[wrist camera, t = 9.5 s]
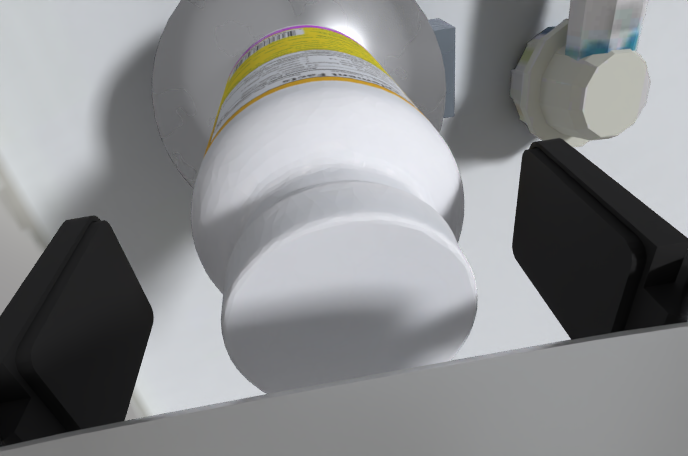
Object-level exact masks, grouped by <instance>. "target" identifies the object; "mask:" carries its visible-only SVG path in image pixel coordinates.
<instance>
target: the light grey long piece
mask: <svg viewBox="0 0 688 456" xmlns="http://www.w3.org/2000/svg"><path fill="white" fill-rule="evenodd" d="M648 1H649V0H571V1H570V11H569V19H565V20H563V21H562V22H561V23H560V24H559V25H557V26H556V27H548V28H546V29H545V30H544V31H542V32H541V33H540V34H539V35H537V36H536V37H535V38H533V39H532V40H531V41H529V42H528V43H527V47H526V49H525V51H524V53H523V55H522V57H521V59H520V61H519V63H518V65H517V67H516V69H513V70H512V75H511V88H510V97H511V98H513V101H514V103H515V106H516V108H517V111H518V114H519V116H520V117H519V120H521V121H523V122H524V123H526V124H527V126H528V128H529V131H530V133H531V134H533V135H534V136H536V137H537V138H539V139H540V140H542V141H543V140H549V139H555V138H561V139H563V140H564V141H565V142H567V143H568V144H569V145H570V146H572V147H581V146H583V145H585V144H586V143H587V142H589V141H590V140H599V139H609V138H612V137H615V136H617V135H619V134H620V133H622V132H623V131H624V130H626V129H627V128H628V127H630V126H631V125H633V124H634V123H635V121H636V119H637V118H638V116H639V115H640V113H641V111H642V110H643V108H644V107H645V105H646V102H647V97H648V92H649V87H650V82H651V81H650V77H649V73H648V69H647V65H646V62H645V61H644V59H643V58H642V56H641V55H640V54H638V53H637V52H636V51H637V47H638V43H639V39H640V35H641V30H642V26H643V22H644V18H645V14H646V9H647V5H648Z"/></svg>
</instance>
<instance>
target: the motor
mask: <svg viewBox="0 0 688 456" xmlns="http://www.w3.org/2000/svg"><path fill="white" fill-rule="evenodd" d="M303 24H310V25H319V26H324V27H328V28H332V29H335V30H337V31H340V32H342V33H344V34H346V35H348V36H350V37H351V38H353V39H354V40H355V41H357V42H358V43H359V44H361V45H362V46H363V47H364V48H365V49H366V50H367V51H368V52H369V53H370V54H371V55H372V56H373V57H374V58H375V60H376V61H377V62H378V63H379V64H380V65H381V66H382V68H383V69H384V70H385V71H386V72H387V73H388V75H389V76H390V77H391V78H392V79H393V80H394V82H395V83H396V84H397V85H398V86H399V87H400V89H401V90H402V91H403V92H404V93H405V94H406V96H407V97H408V98H409V99H410V100H411V101H412V102H413V104H414V105H415V106H416V107H417V108H418V109H419V110H420V111H421V113H422V114H423V115H424V116H425V117H426V118H427V119H428V120H429V121H430V123H431V124H432V125H433V126H434V128H435V129H436V130H437V131H438V132H440V129H441V126H442V121H443V118H447V117H453V116H454V104H455V27H454V26H452V25H450V24H448V23H446V22H445V21H443V20H441V19H439V18H438V19H431V20H428V19H427V17H426V16H425V14H424V13H423V11H422V10H421V8H420V7H419V6H418V4H417V3H416V1H415V0H181V1H180V3H179V4H178V6H177V7H176V9H175V10H174V12H173V14H172V15H171V17H170V18H169V20H168V22H167V25H166V27H165V29H164V31H163V33H162V36H161V38H160V41H159V45H158V48H157V52H156V55H155V60H154V67H153V75H152V100H153V107H154V114H155V119H156V123H157V126H158V129H159V133H160V136H161V139H162V141H163V143H164V145H165V148H166V150H167V152H168V154H169V156H170V158H171V159H172V161H173V163H174V164H175V166H176V168H177V169H178V171H179V172H180V173H181V174H182V176H183V177H184V178H185V179H186V181H187V182H188V183H189V184H190V185H191V186H192V187H193V188H194V187H195V183H196V179H197V176H198V173H199V170H200V167H201V164H202V160H203V157H204V154H205V151H206V148H207V145H208V142H209V139H210V136H211V132H212V129H213V126H214V122H215V119H216V116H217V113H218V109H219V106H220V103H221V100H222V97H223V93H224V89H225V86H226V83H227V81H228V78H229V75H230V73H231V71H232V69H233V67H234V65H235V64H236V62H237V61H238V59H239V58H240V56H241V55H242V54H243V53H244V52H245V51H246V50H247V49H248V48H249V47H250V46H251V45H252V44H253V43H254V42H256V41H257V40H258V39H260V38H261V37H263V36H265V35H266V34H268V33H270V32H272V31H275V30H277V29H280V28H284V27H287V26H293V25H303Z"/></svg>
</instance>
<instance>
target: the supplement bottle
mask: <svg viewBox="0 0 688 456" xmlns="http://www.w3.org/2000/svg"><path fill="white" fill-rule="evenodd" d="M463 218H464V192H463V185H462V180H461V176H460V172H459V169H458V166H457V164H456V161H455V159H454V157H453V155H452V152H451V151H450V149H449V147H448V145H447V144H446V142H445V141H444V139H443V138H442V137H441V135H440V134H439V132H438V131H437V130H436V129H435V128H434V126H433V125H432V124H431V123H430V121H429V120H428V119H427V118H426V117H425V116H424V115H423V114H422V113H421V111H420V110H419V109H418V108H417V107H416V106H415V105H414V104H413V102H412V101H411V100H410V99H409V98H408V97H407V96H406V94H405V93H404V92H403V91H402V90H401V89H400V87H399V86H398V85H397V84H396V83H395V82H394V80H393V79H392V78H391V77H390V76H389V75H388V73H387V72H386V71H385V70H384V69H383V68H382V66H381V65H380V64H379V63H378V62H377V61H376V60H375V58H374V57H373V56H372V55H371V54H370V53H369V52H368V51H367V50H366V49H365V48H364V47H363V46H362V45H361V44H359V43H358V42H357V41H355V40H354V39H353V38H351V37H350V36H348V35H346V34H344V33H342V32H340V31H337V30H335V29H332V28H328V27H324V26H319V25H310V24H303V25H293V26H287V27H284V28H280V29H277V30H275V31H272V32H270V33H268V34H266V35H265V36H263V37H261V38H260V39H258V40H257V41H256V42H254V43H253V44H252V45H251V46H250V47H249V48H248V49H247V50H246V51H245V52H244V53H243V54H242V55H241V56H240V58H239V59H238V61H237V62H236V64H235V65H234V67H233V69H232V71H231V73H230V75H229V78H228V81H227V83H226V86H225V89H224V93H223V97H222V100H221V103H220V106H219V109H218V113H217V116H216V119H215V122H214V126H213V129H212V132H211V136H210V139H209V142H208V145H207V148H206V151H205V154H204V157H203V160H202V164H201V167H200V170H199V173H198V176H197V179H196V183H195V187H194V191H193V196H192V202H191V226H192V234H193V239H194V243H195V248H196V251H197V253H198V256H199V258H200V261H201V263H202V265H203V267H204V269H205V271H206V273H207V274H208V276H209V278H210V279H211V280H212V282H213V283H214V284H215V286H216V287H217V288H218V289H219V290H220V292H221V293H222V294H223V302H222V313H221V327H222V335H223V340H224V344H225V347H226V349H227V352H228V354H229V356H230V359H231V360H232V362H233V363H234V365H235V366H236V368H237V369H238V370H239V371H240V373H241V374H242V375H243V376H244V377H245V378H246V379H247V380H248V381H250V382H251V383H252V384H253V385H255V386H256V387H257V388H259V389H260V390H261V391H263V392H265V393H267V394H271V393H276V392H282V391H287V390H293V389H298V388H304V387H309V386H315V385H320V384H325V383H331V382H336V381H342V380H347V379H353V378H358V377H364V376H369V375H375V374H380V373H386V372H391V371H397V370H402V369H408V368H413V367H419V366H424V365H430V364H436V363H441V362H447V361H450V360H451V359H452V358H453V357H454V356H455V355H456V354H457V353H458V351H459V350H460V348H461V347H462V346H463V344H464V342H465V341H466V339H467V337H468V335H469V334H470V331H471V329H472V326H473V323H474V320H475V316H476V311H477V297H478V295H477V286H476V281H475V277H474V274H473V271H472V269H471V266H470V264H469V262H468V260H467V258H466V257H465V255H464V253H463V252H462V250H461V248H460V246H459V245H458V241H459V237H460V234H461V230H462V224H463Z"/></svg>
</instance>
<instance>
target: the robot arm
mask: <svg viewBox="0 0 688 456" xmlns="http://www.w3.org/2000/svg"><path fill="white" fill-rule="evenodd" d="M512 248H513V254H514V256H515V259H516V260H517V262H518V263H519V265H520V266H521V268H522V269H523V271H524V272H525V273H526V275H527V276H528V278H529V279H530V281H531V282H532V283H533V285H534V286H535V288H536V289H537V291H538V292H539V294H540V295H541V296H542V298H543V299H544V301H545V302H546V304H547V305H548V307H549V308H550V309H551V311H552V312H553V314H554V315H555V317H556V318H557V320H558V321H559V322H560V324H561V325H562V327H563V328H564V330H565V331H566V332H567V334H568V335H569V337H570V338H571V340H566V341H560V342H555V343H549V344H543V345H538V346H532V347H526V348H521V349H515V350H509V351H504V352H498V353H492V354H487V355H481V356H475V357H470V358H464V359H458V360H453V361H447V362H441V363H436V364H430V365H424V366H419V367H413V368H408V369H402V370H397V371H391V372H386V373H380V374H375V375H369V376H364V377H358V378H353V379H347V380H342V381H336V382H331V383H325V384H320V385H315V386H309V387H304V388H298V389H293V390H287V391H282V392H276V393H271V394H265V395H260V396H255V397H249V398H244V399H239V400H233V401H228V402H223V403H217V404H212V405H207V406H201V407H196V408H191V409H186V410H180V411H175V412H170V413H164V414H159V415H154V416H148V417H143V418H138V419H132V420H128V421H124V420H125V417H126V414H127V410H128V407H129V404H130V400H131V397H132V393H133V390H134V387H135V383H136V380H137V376H138V373H139V369H140V366H141V363H142V359H143V356H144V352H145V349H146V346H147V342H148V339H149V335H150V332H151V329H152V325H153V311H152V308H151V305H150V303H149V301H148V299H147V297H146V295H145V294H144V292H143V290H142V288H141V286H140V284H139V282H138V280H137V278H136V276H135V274H134V272H133V270H132V268H131V266H130V264H129V262H128V260H127V258H126V256H125V254H124V252H123V250H122V248H121V246H120V244H119V242H118V240H117V238H116V236H115V234H114V232H113V230H112V228H111V226H110V224H109V223H108V222H107V221H105V220H104V221H101V220H100V219H99V218H98V217H96V216H88V217H82V218H76V219H70V220H66V221H65V222H64V223H63V224H62V226H61V227H60V229H59V230H58V231H57V233H56V234H55V236H54V237H53V239H52V240H51V242H50V243H49V245H48V246H47V248H46V249H45V251H44V252H43V254H42V255H41V257H40V258H39V260H38V261H37V263H36V264H35V266H34V267H33V268H32V270H31V272H30V273H29V275H28V276H27V277H26V279H25V280H24V282H23V283H22V285H21V286H20V288H19V289H18V291H17V292H16V294H15V295H14V297H13V298H12V300H11V301H10V303H9V304H8V305H7V307H6V308H5V310H4V312H3V313H2V315H1V316H0V456H688V238H687V237H686V236H684V235H683V234H682V233H680V232H679V231H678V230H677V229H675V228H674V227H673V226H672V225H670V224H669V223H668V222H667V221H665V220H664V219H663V218H661V217H660V216H659V215H658V214H656V213H655V212H654V211H653V210H651V209H650V208H649V207H648V206H646V205H645V204H644V203H643V202H641V201H640V200H639V199H637V198H636V197H635V196H634V195H632V194H631V193H630V192H629V191H627V190H626V189H625V188H624V187H622V186H621V185H620V184H619V183H617V182H616V181H615V180H613V179H612V178H611V177H610V176H608V175H607V174H606V173H605V172H603V171H602V170H601V169H600V168H598V167H597V166H596V165H594V164H593V163H592V162H591V161H589V160H588V159H587V158H586V157H584V156H583V155H582V154H581V153H579V152H578V151H577V150H576V149H574V148H573V147H572V146H570V145H569V144H568V143H567V142H565V141H564V140H563V139H561V138H555V139H549V140H543V141H537V142H533V143H532V144H531V146H530V148H529V149H528V150H525V151H524V153H523V156H522V163H521V172H520V180H519V189H518V198H517V207H516V216H515V225H514V234H513V243H512Z"/></svg>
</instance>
